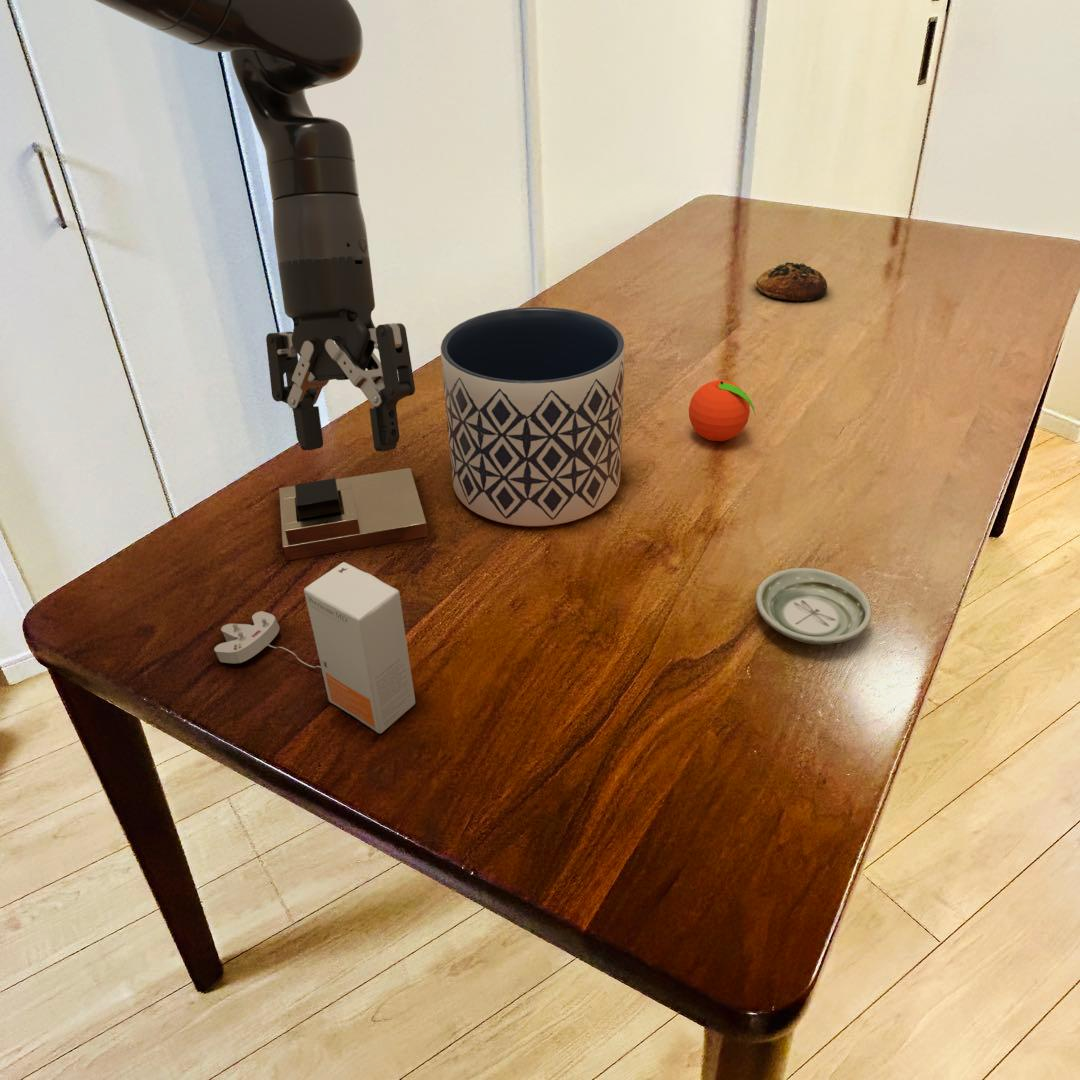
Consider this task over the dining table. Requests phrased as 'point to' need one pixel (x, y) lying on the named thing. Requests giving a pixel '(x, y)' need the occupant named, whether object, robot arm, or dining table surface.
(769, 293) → the bread roll
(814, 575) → the saucer
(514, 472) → the planter
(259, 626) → the game controller
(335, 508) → the key
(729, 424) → the clementine
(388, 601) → the cosmetic box
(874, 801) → the dining table surface
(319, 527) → the keypad
